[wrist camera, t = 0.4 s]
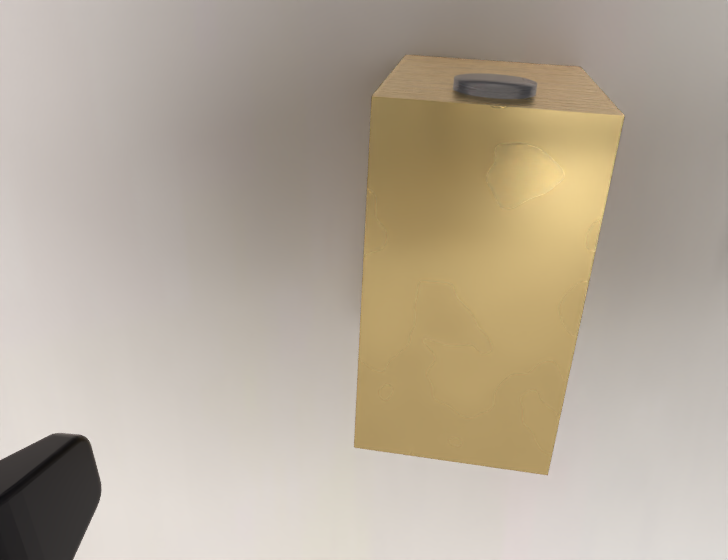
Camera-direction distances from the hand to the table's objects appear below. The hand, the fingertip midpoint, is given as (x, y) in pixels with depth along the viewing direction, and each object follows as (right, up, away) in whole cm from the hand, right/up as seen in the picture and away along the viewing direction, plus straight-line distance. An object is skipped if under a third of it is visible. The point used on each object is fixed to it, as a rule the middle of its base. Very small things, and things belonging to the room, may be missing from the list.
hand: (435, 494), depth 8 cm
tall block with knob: (+2, +5, +11) cm, 12 cm away
